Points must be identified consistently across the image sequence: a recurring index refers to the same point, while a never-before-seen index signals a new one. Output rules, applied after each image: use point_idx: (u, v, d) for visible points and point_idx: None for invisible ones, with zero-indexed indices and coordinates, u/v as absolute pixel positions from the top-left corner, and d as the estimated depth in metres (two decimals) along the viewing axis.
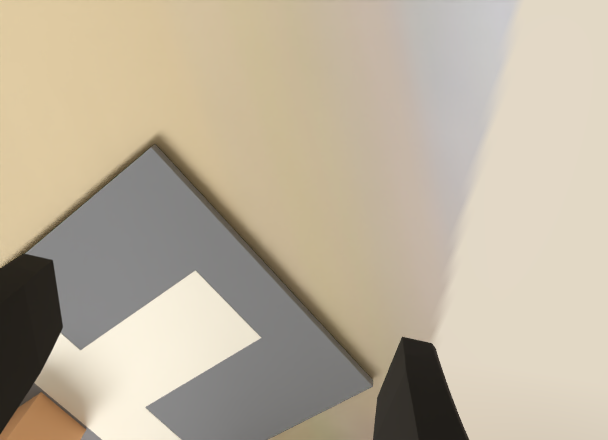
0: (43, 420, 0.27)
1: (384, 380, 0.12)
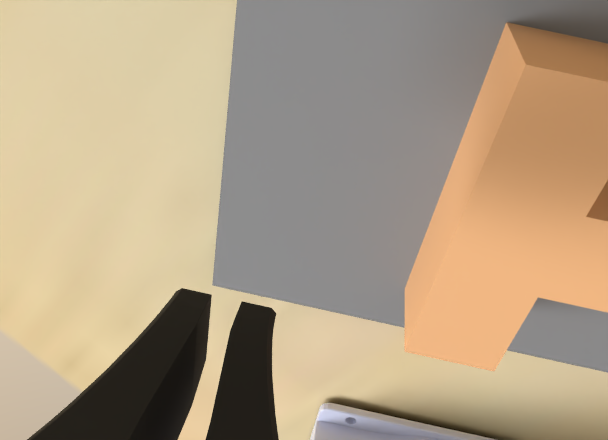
0: None
1: None
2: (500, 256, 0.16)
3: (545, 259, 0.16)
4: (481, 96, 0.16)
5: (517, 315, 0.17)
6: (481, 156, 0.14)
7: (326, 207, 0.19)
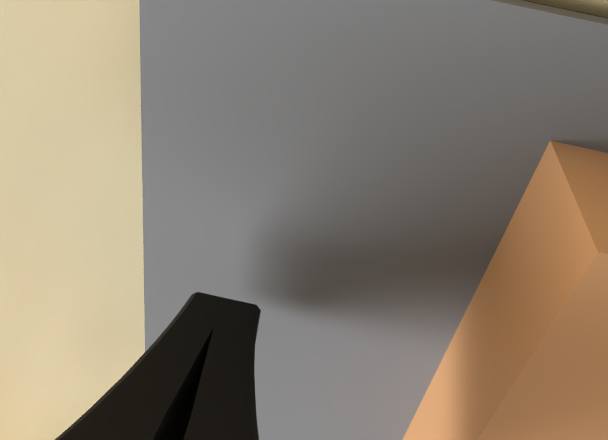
0: None
1: None
2: None
3: None
4: (509, 241, 0.11)
5: None
6: (513, 357, 0.09)
7: (289, 357, 0.14)
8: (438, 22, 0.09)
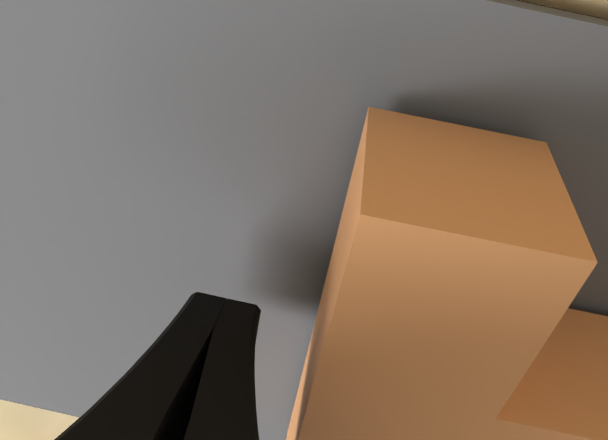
0: None
1: None
2: None
3: None
4: (343, 213, 0.10)
5: None
6: (325, 329, 0.09)
7: (79, 310, 0.14)
8: None
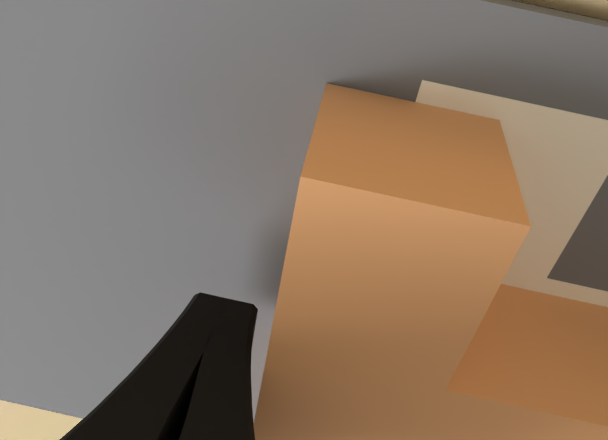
0: None
1: None
2: (332, 431, 0.10)
3: (397, 438, 0.10)
4: None
5: None
6: None
7: None
8: None
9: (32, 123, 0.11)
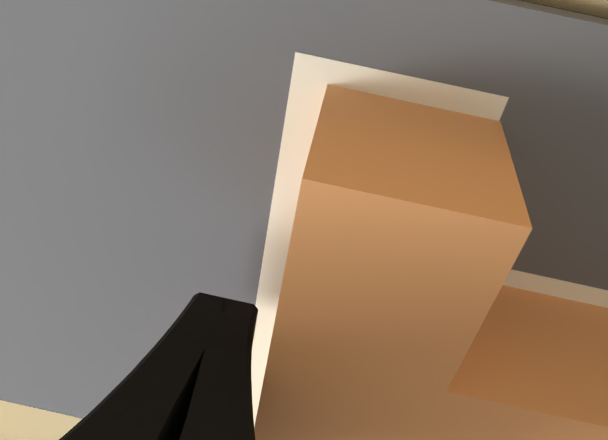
0: None
1: None
2: (334, 432, 0.10)
3: (398, 439, 0.10)
4: None
5: None
6: None
7: None
8: None
9: None
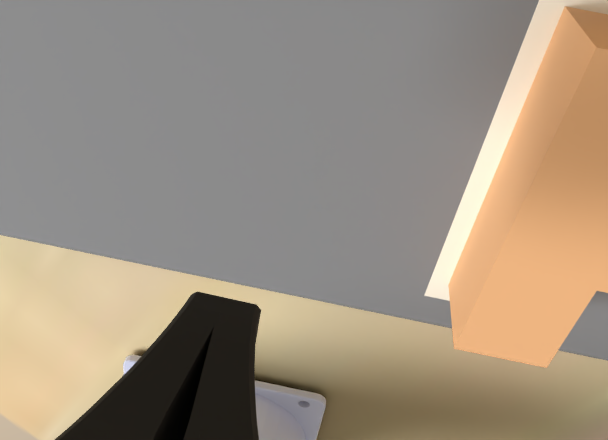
0: None
1: None
2: (559, 249, 0.15)
3: (606, 251, 0.15)
4: (536, 84, 0.15)
5: (574, 309, 0.16)
6: (543, 145, 0.14)
7: (55, 142, 0.19)
8: None
9: (263, 29, 0.16)
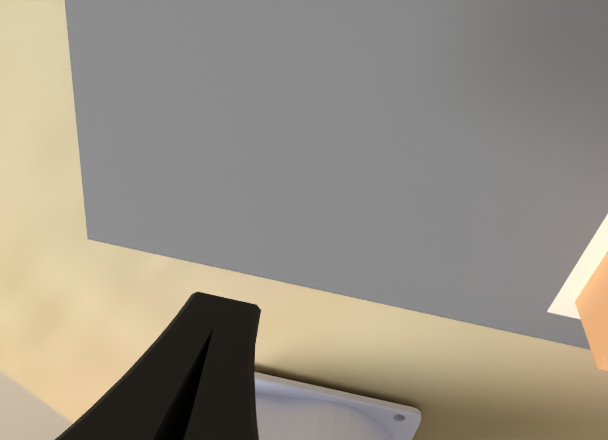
0: None
1: None
2: None
3: None
4: None
5: None
6: None
7: (185, 151, 0.19)
8: None
9: (429, 41, 0.15)
